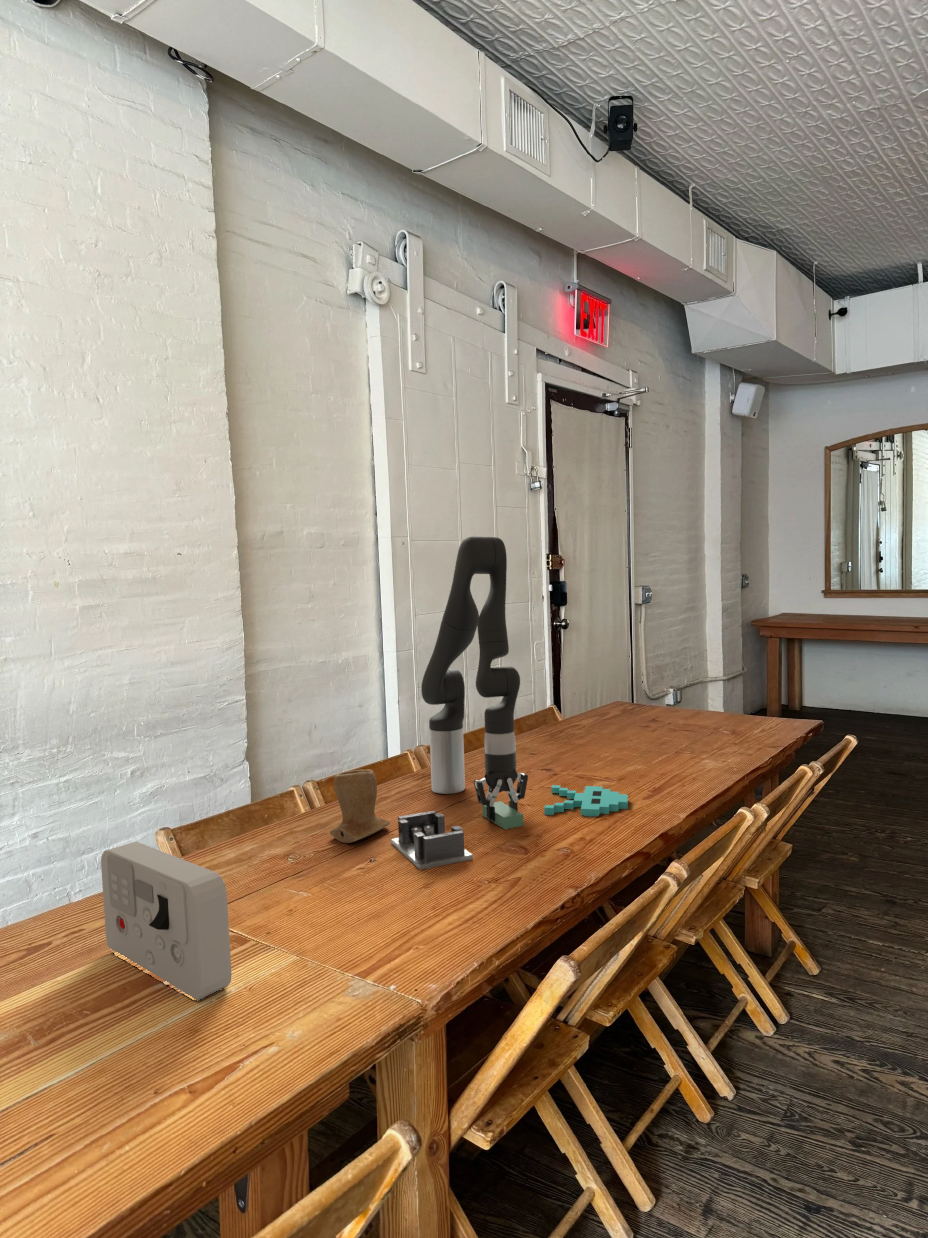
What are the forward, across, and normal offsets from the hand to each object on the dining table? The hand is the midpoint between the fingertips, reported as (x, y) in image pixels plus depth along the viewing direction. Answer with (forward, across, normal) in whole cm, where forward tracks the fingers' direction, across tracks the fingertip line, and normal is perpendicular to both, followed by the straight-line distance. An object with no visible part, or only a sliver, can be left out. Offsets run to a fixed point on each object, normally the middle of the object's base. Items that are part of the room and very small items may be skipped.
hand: (502, 818), depth 202 cm
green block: (+1, 0, 0) cm, 1 cm away
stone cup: (+1, +34, -8) cm, 35 cm away
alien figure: (+1, -25, -1) cm, 25 cm away
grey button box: (+1, +80, +40) cm, 89 cm away
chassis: (0, +23, +11) cm, 26 cm away
